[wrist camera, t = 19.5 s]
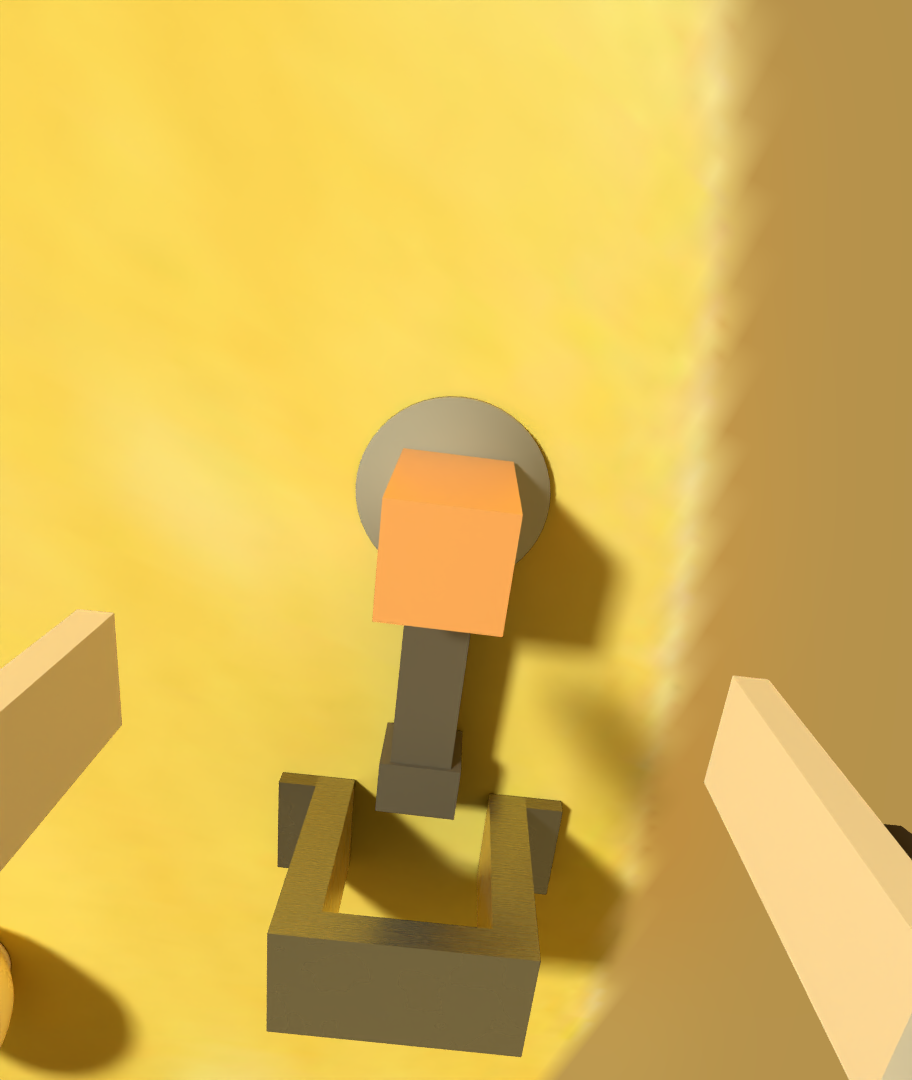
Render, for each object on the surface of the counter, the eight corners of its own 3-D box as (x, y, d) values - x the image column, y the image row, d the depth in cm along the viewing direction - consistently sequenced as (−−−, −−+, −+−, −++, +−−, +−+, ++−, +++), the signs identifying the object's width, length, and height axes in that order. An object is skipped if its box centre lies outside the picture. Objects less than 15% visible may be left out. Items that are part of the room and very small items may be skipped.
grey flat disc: (352, 571, 33) (351, 574, 33) (362, 385, 30) (360, 387, 30) (534, 590, 33) (535, 594, 33) (563, 407, 30) (564, 409, 30)
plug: (374, 766, 37) (352, 871, 31) (403, 448, 30) (382, 497, 24) (464, 776, 37) (461, 884, 31) (513, 461, 30) (522, 515, 24)
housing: (281, 856, 40) (222, 1026, 30) (282, 772, 38) (219, 928, 28) (544, 883, 40) (565, 1061, 30) (560, 801, 38) (587, 965, 28)
